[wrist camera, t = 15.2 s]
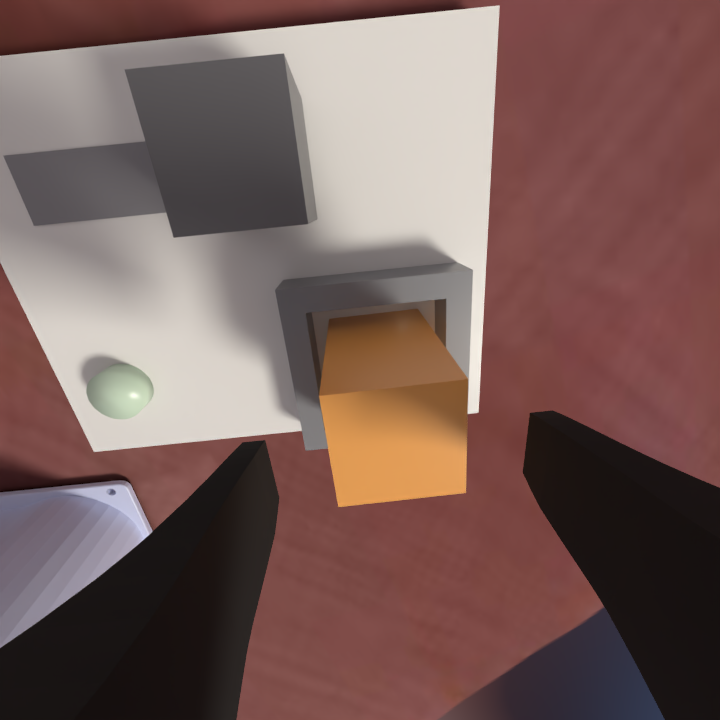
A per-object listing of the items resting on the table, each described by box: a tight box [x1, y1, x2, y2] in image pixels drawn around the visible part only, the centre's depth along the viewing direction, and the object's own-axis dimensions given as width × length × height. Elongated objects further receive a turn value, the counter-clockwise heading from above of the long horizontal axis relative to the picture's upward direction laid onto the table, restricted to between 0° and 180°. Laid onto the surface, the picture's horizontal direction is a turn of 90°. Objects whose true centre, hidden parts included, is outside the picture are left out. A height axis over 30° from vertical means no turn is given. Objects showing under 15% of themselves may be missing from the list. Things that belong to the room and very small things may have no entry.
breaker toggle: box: [125, 53, 317, 238], centre depth 11 cm, size 4×4×4 cm
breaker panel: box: [0, 6, 499, 452], centre depth 15 cm, size 20×16×4 cm
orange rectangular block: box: [319, 309, 468, 507], centre depth 13 cm, size 4×4×7 cm
